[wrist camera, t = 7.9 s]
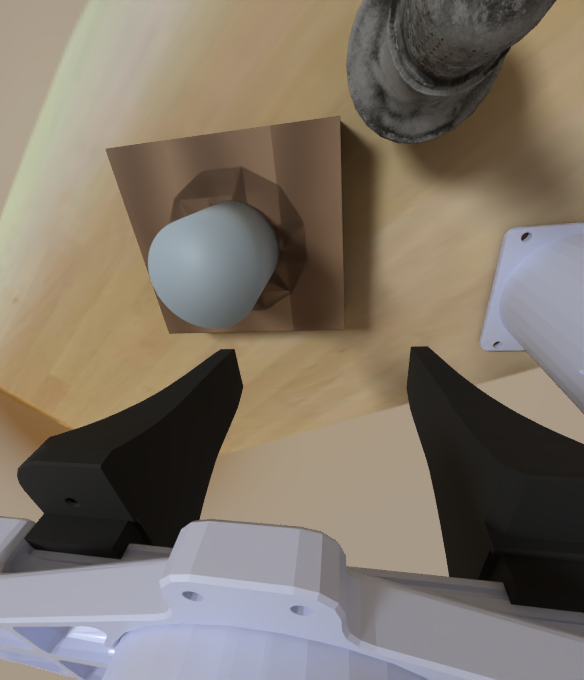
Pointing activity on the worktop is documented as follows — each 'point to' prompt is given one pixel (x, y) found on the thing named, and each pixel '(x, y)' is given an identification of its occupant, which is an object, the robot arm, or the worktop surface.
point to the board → (261, 193)
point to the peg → (214, 263)
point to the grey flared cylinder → (430, 60)
